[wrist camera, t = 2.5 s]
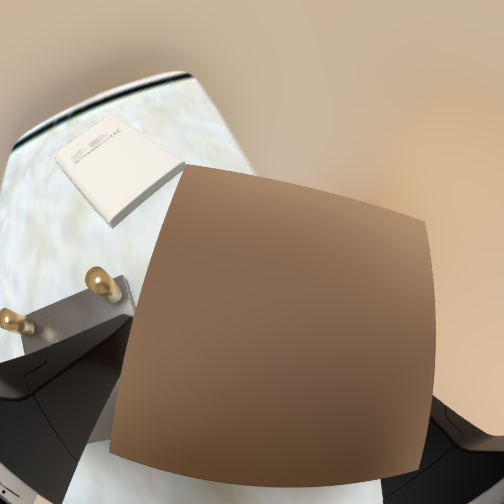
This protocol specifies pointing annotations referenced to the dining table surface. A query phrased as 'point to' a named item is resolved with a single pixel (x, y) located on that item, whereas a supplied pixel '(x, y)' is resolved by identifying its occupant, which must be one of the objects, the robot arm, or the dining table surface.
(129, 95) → the dining table surface
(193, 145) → the dining table surface
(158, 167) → the external hard drive
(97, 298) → the plate
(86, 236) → the dining table surface
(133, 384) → the walnut post
